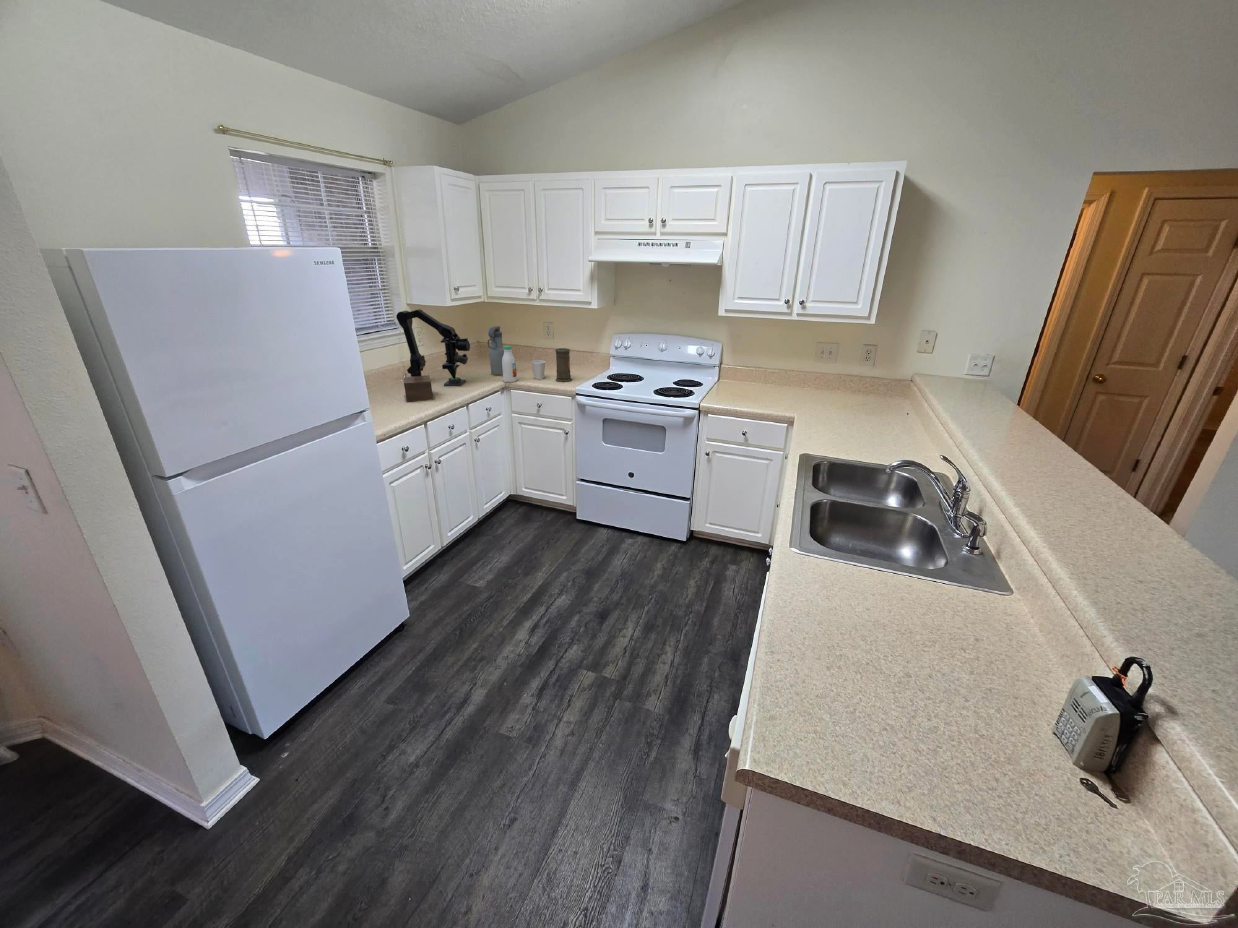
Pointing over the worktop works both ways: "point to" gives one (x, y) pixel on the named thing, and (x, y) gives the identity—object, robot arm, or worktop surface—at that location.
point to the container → (563, 365)
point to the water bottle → (496, 350)
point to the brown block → (418, 388)
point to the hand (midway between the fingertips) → (454, 378)
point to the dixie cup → (538, 368)
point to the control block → (454, 382)
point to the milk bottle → (509, 365)
